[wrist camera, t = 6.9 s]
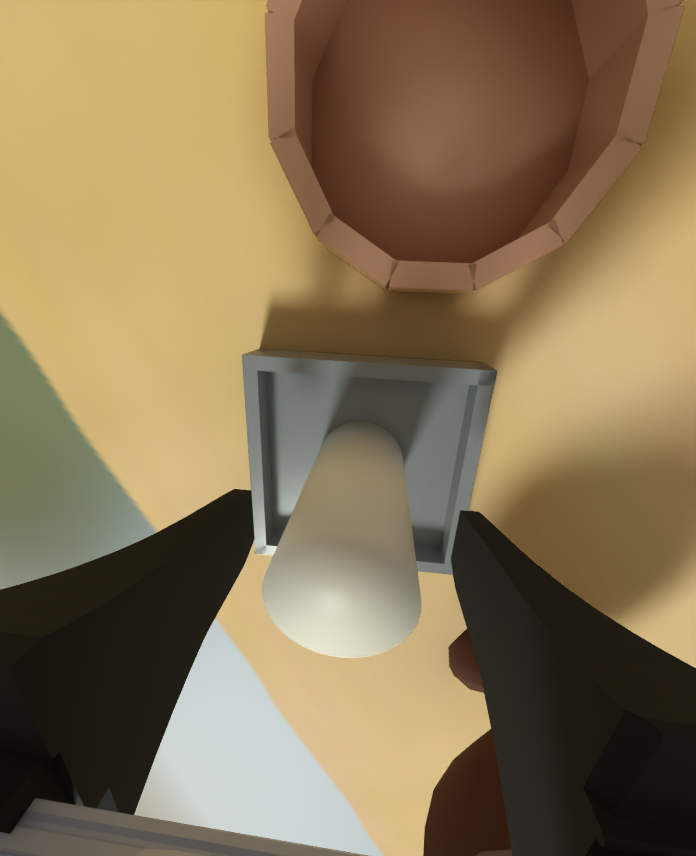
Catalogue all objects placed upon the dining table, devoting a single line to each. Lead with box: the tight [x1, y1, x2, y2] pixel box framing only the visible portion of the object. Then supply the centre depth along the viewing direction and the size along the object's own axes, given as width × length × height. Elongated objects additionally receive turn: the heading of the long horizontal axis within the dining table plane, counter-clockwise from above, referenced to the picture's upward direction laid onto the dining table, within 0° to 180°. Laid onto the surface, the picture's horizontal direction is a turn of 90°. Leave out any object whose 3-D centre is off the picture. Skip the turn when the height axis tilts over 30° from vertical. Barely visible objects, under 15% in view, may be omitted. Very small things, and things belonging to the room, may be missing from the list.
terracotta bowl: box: [265, 0, 685, 294], centre depth 10 cm, size 11×11×3 cm
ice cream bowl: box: [424, 631, 512, 856], centre depth 13 cm, size 11×11×15 cm
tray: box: [242, 349, 497, 575], centre depth 16 cm, size 10×10×2 cm
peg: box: [262, 421, 421, 658], centre depth 12 cm, size 4×4×8 cm
